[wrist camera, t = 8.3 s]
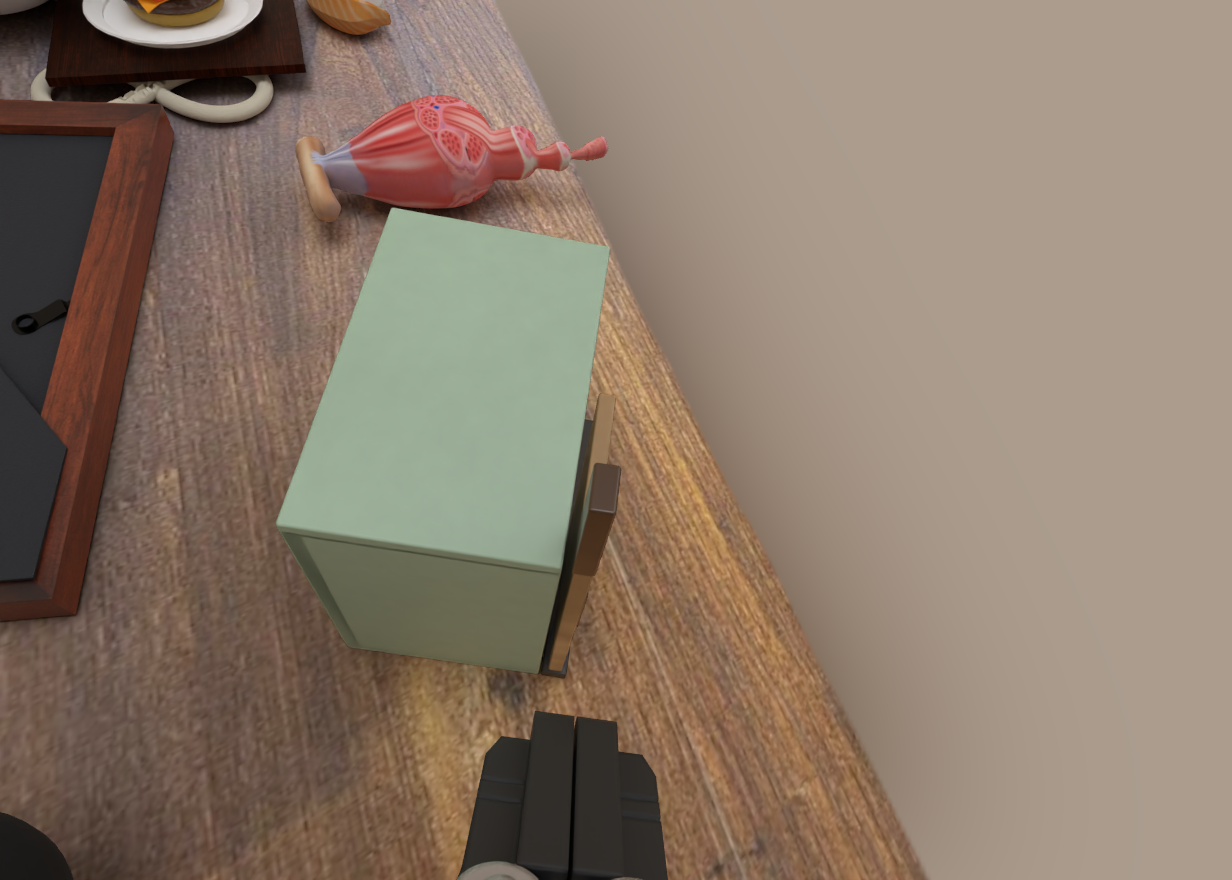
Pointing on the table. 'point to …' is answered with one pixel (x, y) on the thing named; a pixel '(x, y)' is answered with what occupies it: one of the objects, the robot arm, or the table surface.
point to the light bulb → (29, 853)
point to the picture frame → (66, 325)
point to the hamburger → (171, 40)
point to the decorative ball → (18, 5)
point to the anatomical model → (428, 158)
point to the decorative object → (180, 99)
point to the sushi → (352, 14)
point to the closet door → (587, 529)
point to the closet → (452, 444)
